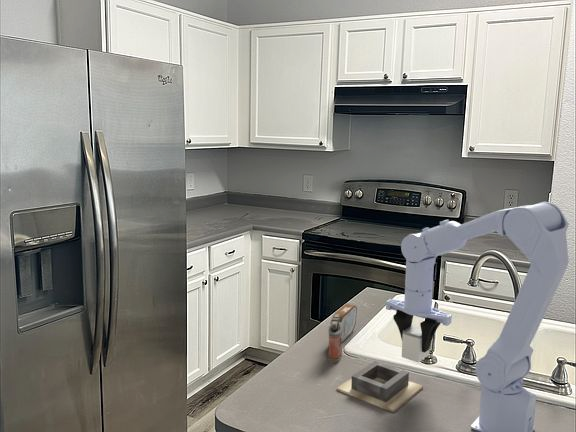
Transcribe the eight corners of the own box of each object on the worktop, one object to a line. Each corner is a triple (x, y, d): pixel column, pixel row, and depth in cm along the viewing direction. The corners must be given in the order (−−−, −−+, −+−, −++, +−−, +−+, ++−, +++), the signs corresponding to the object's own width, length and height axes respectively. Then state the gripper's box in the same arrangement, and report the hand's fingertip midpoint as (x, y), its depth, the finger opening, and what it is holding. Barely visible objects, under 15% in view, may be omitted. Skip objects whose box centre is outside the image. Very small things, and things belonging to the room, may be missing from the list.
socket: (423, 388, 118) (423, 373, 117) (393, 412, 108) (394, 396, 108) (368, 368, 127) (368, 354, 126) (336, 389, 117) (336, 375, 117)
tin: (347, 326, 152) (348, 298, 150) (358, 328, 151) (359, 300, 149) (327, 347, 139) (327, 316, 137) (338, 349, 138) (339, 318, 136)
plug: (429, 354, 118) (430, 329, 117) (418, 362, 114) (419, 336, 113) (412, 349, 121) (413, 324, 119) (401, 357, 117) (402, 331, 116)
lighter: (340, 363, 130) (341, 324, 128) (326, 362, 130) (326, 323, 128) (343, 349, 137) (344, 312, 135) (330, 348, 138) (331, 311, 136)
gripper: (459, 290, 113) (455, 351, 115) (398, 276, 122) (395, 333, 125) (444, 299, 108) (440, 362, 110) (381, 284, 117) (379, 342, 120)
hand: (415, 347), depth 117 cm, fingers closed on plug, 4 cm apart
